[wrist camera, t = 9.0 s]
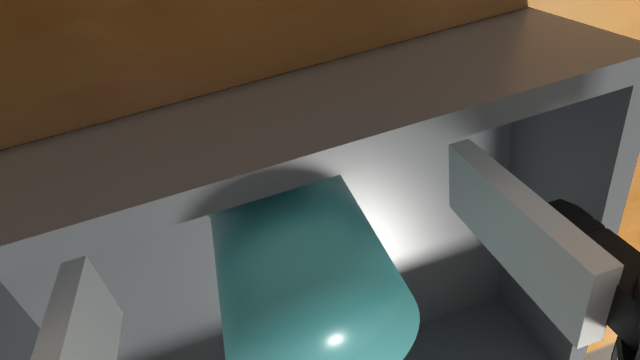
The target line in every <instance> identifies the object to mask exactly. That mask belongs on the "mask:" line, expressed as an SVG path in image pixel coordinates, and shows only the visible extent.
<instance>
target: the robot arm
mask: <svg viewBox="0 0 640 360" xmlns="http://www.w3.org/2000/svg"><path fill="white" fill-rule="evenodd" d="M448 146H449V206H450V208H451V209H452V210H453V211H454V212H455V213H456V214H457V215H458V217H459V218H460V219H461V220H462V221H463V222H464V223H465V224H466V226H467V227H468V228H469V229H470V230H471V231H472V232H473V233H474V235H475V236H476V237H477V238H478V239H479V240H480V241H481V242H482V244H483V245H484V246H485V247H486V248H487V249H488V250H489V251H490V252H491V254H492V255H493V256H494V257H495V258H496V259H497V260H498V261H499V263H500V264H501V265H502V266H503V267H504V268H505V269H506V270H507V272H508V273H509V274H510V275H511V276H512V277H513V278H514V279H515V281H516V282H517V283H518V284H519V285H520V286H521V287H522V288H523V290H524V291H525V292H526V293H527V294H528V295H529V296H530V297H531V298H532V300H533V301H534V302H535V303H536V304H537V305H538V306H539V307H540V309H541V310H542V311H543V312H544V313H545V314H546V315H547V316H548V318H549V319H550V320H551V321H552V322H553V323H554V324H555V325H556V327H557V328H558V329H559V330H560V331H561V332H562V333H563V334H564V335H565V337H566V338H567V339H568V340H569V341H570V342H571V343H572V344H573V346H574V347H575V348H576V349H579V348H582V347H584V346H587V345H589V344H592V343H595V342H597V341H600V340H602V339H603V336H604V333H605V329H606V326H607V325H608V326H609V327H610V328H611V329H612V330H613V331H614V332H615V333H616V334H617V335H618V337H617V340H616V343H615V346H614V349H613V352H612V356H611V360H617V357H618V360H640V252H639V251H637V250H636V249H635V248H633V247H632V246H631V245H629V244H628V243H627V242H626V241H624V240H623V239H622V238H620V237H619V236H618V235H616V234H615V233H614V232H612V231H611V230H610V229H608V228H607V229H606V228H605V226H604V225H603V224H602V223H601V222H599V221H598V220H597V219H595V220H594V218H593V216H591V215H590V214H589V213H587V212H586V211H585V210H583V209H582V208H581V207H579V206H577V205H575V204H572V203H570V202H568V201H565V200H563V199H557V200H554V201H551V202H548V203H547V202H546V201H545V200H543V199H542V198H541V197H540V196H538V195H537V194H536V193H535V192H534V191H532V190H531V189H530V188H529V187H527V186H526V185H525V184H524V183H523V182H521V181H520V180H519V179H518V178H516V177H515V176H514V175H513V174H512V173H510V172H509V171H508V170H507V169H505V168H504V167H503V166H502V165H500V164H499V163H498V162H497V161H496V160H494V159H493V158H492V157H491V156H489V155H488V154H487V153H486V152H485V151H483V150H482V149H481V148H480V147H478V146H477V145H476V144H475V143H473V142H472V141H471V140H470V139H469V138H468V139H465V140H462V141H459V142H455V143H452V144H449V145H448ZM122 317H123V311H122V310H121V308H120V307H119V305H118V304H117V302H116V301H115V299H114V298H113V296H112V294H111V293H110V291H109V290H108V288H107V287H106V285H105V284H104V282H103V281H102V279H101V278H100V276H99V274H98V273H97V271H96V270H95V268H94V267H93V265H92V264H91V262H90V261H89V259H88V258H87V256H83V257H79V258H76V259H73V260H70V261H66V262H63V263H61V265H60V268H59V271H58V274H57V277H56V281H55V284H54V287H53V290H52V293H51V296H50V299H49V302H48V306H47V309H46V312H45V315H44V318H43V321H42V324H41V328H40V331H39V334H38V337H37V340H36V343H35V346H34V349H33V353H32V356H31V359H30V360H117V356H118V348H119V340H120V333H121V325H122Z"/></svg>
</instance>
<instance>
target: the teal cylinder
mask: <svg viewBox="0 0 640 360" xmlns="http://www.w3.org/2000/svg"><path fill="white" fill-rule="evenodd" d="M210 218H211V228H212V237H213V246H214V256H215V265H216V275H217V284H218V294H219V303H220V312H221V322H222V331H223V341H224V350H225V359H226V360H403V359H404V358H405V356H406V355H407V354H408V352H409V350H410V349H411V347H412V345H413V343H414V341H415V339H416V336H417V333H418V330H419V323H420V313H419V309H418V305H417V303H416V301H415V298H414V297H413V295H412V293H411V292H410V290H409V288H408V287H407V285H406V283H405V282H404V280H403V278H402V277H401V275H400V273H399V272H398V270H397V268H396V267H395V265H394V263H393V262H392V260H391V258H390V256H389V255H388V253H387V251H386V250H385V248H384V246H383V245H382V243H381V241H380V240H379V238H378V236H377V235H376V233H375V231H374V230H373V228H372V226H371V225H370V223H369V221H368V220H367V218H366V216H365V215H364V213H363V211H362V210H361V208H360V206H359V205H358V203H357V201H356V200H355V198H354V196H353V195H352V193H351V191H350V190H349V188H348V186H347V185H346V183H345V181H344V179H343V178H342V176H341V175H337V176H334V177H331V178H328V179H324V180H321V181H318V182H315V183H311V184H308V185H305V186H301V187H298V188H295V189H292V190H288V191H285V192H282V193H278V194H275V195H272V196H269V197H265V198H262V199H259V200H255V201H252V202H249V203H246V204H242V205H239V206H236V207H233V208H229V209H226V210H223V211H219V212H216V213H213V214H210Z"/></svg>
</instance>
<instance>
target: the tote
mask: <svg viewBox="0 0 640 360" xmlns="http://www.w3.org/2000/svg"><path fill="white" fill-rule="evenodd" d="M468 138H469V139H470V140H471V141H472V142H473V143H475V144H476V145H477V146H478V147H480V148H481V149H482V150H483V151H485V152H486V153H487V154H488V155H489V156H491V157H492V158H493V159H494V160H496V161H497V162H498V163H499V164H500V165H502V166H503V167H504V168H505V169H507V170H508V171H509V172H510V173H512V174H513V175H514V176H515V177H516V178H518V179H519V180H520V181H521V182H523V183H524V184H525V185H526V186H527V187H529V188H530V189H531V190H532V191H534V192H535V193H536V194H537V195H538V196H540V197H541V198H542V199H543V200H545V201H546V202H547V203H548V202H551V201H554V200H557V199H563V200H565V201H568V202H570V203H572V204H575V205H577V206H579V207H581V208H582V209H583V210H585V211H586V212H587V213H589V214H590V215H591V216H593V218H594V220H595V219H597V220H598V221H599V222H601V223H602V224H603V225H604V226H605V228H606V229H607V228H608V229H610V230H611V231H612V232H614V233H615V234H616V235H617V234H618V230H619V227H620V223H621V219H622V215H623V212H624V208H625V204H626V200H627V197H628V193H629V189H630V185H631V181H632V178H633V174H634V170H635V166H636V163H637V159H638V155H639V151H640V41H639V40H636V39H633V38H629V37H626V36H623V35H619V34H616V33H613V32H610V31H606V30H603V29H600V28H596V27H593V26H590V25H586V24H583V23H580V22H577V21H573V20H570V19H567V18H563V17H560V16H557V15H553V14H550V13H547V12H543V11H540V10H537V9H534V8H530V7H528V8H524V9H521V10H517V11H513V12H510V13H506V14H502V15H499V16H495V17H491V18H487V19H484V20H480V21H476V22H473V23H469V24H465V25H462V26H458V27H454V28H451V29H447V30H443V31H440V32H436V33H432V34H428V35H425V36H421V37H417V38H414V39H410V40H406V41H403V42H399V43H395V44H392V45H388V46H384V47H381V48H377V49H373V50H369V51H366V52H362V53H358V54H355V55H351V56H347V57H344V58H340V59H336V60H333V61H329V62H325V63H322V64H318V65H314V66H310V67H307V68H303V69H299V70H296V71H292V72H288V73H285V74H281V75H277V76H274V77H270V78H266V79H263V80H259V81H255V82H251V83H248V84H244V85H240V86H237V87H233V88H229V89H226V90H222V91H218V92H215V93H211V94H207V95H203V96H200V97H196V98H192V99H189V100H185V101H181V102H178V103H174V104H170V105H167V106H163V107H159V108H156V109H152V110H148V111H144V112H141V113H137V114H133V115H130V116H126V117H122V118H119V119H115V120H111V121H108V122H104V123H100V124H97V125H93V126H89V127H85V128H82V129H78V130H74V131H71V132H67V133H63V134H60V135H56V136H52V137H49V138H45V139H41V140H38V141H34V142H30V143H26V144H23V145H19V146H15V147H12V148H8V149H4V150H1V151H0V360H30V359H31V356H32V353H33V349H34V346H35V343H36V340H37V337H38V334H39V331H40V328H41V324H42V321H43V318H44V315H45V312H46V309H47V306H48V302H49V299H50V296H51V293H52V290H53V287H54V284H55V281H56V277H57V274H58V271H59V268H60V265H61V263H63V262H66V261H70V260H73V259H76V258H79V257H83V256H87V258H88V259H89V261H90V262H91V264H92V265H93V267H94V268H95V270H96V271H97V273H98V274H99V276H100V278H101V279H102V281H103V282H104V284H105V285H106V287H107V288H108V290H109V291H110V293H111V294H112V296H113V298H114V299H115V301H116V302H117V304H118V305H119V307H120V308H121V310H122V311H123V317H122V325H121V333H120V340H119V348H118V356H117V360H226V359H225V350H224V341H223V331H222V322H221V312H220V303H219V294H218V284H217V275H216V265H215V256H214V246H213V237H212V228H211V218H210V214H213V213H216V212H219V211H223V210H226V209H229V208H233V207H236V206H239V205H242V204H246V203H249V202H252V201H255V200H259V199H262V198H265V197H269V196H272V195H275V194H278V193H282V192H285V191H288V190H292V189H295V188H298V187H301V186H305V185H308V184H311V183H315V182H318V181H321V180H324V179H328V178H331V177H334V176H337V175H341V176H342V178H343V179H344V181H345V183H346V185H347V186H348V188H349V190H350V191H351V193H352V195H353V196H354V198H355V200H356V201H357V203H358V205H359V206H360V208H361V210H362V211H363V213H364V215H365V216H366V218H367V220H368V221H369V223H370V225H371V226H372V228H373V230H374V231H375V233H376V235H377V236H378V238H379V240H380V241H381V243H382V245H383V246H384V248H385V250H386V251H387V253H388V255H389V256H390V258H391V260H392V262H393V263H394V265H395V267H396V268H397V270H398V272H399V273H400V275H401V277H402V278H403V280H404V282H405V283H406V285H407V287H408V288H409V290H410V292H411V293H412V295H413V297H414V298H415V301H416V303H417V305H418V309H419V313H420V323H419V330H418V333H417V336H416V339H415V341H414V343H413V345H412V347H411V349H410V350H409V352H408V354H407V355H406V356H405V358H404V359H403V360H584V358H585V355H586V351H587V347H588V345H587V346H584V347H582V348H579V349H576V348H575V347H574V346H573V344H572V343H571V342H570V341H569V340H568V339H567V338H566V337H565V335H564V334H563V333H562V332H561V331H560V330H559V329H558V328H557V327H556V325H555V324H554V323H553V322H552V321H551V320H550V319H549V318H548V316H547V315H546V314H545V313H544V312H543V311H542V310H541V309H540V307H539V306H538V305H537V304H536V303H535V302H534V301H533V300H532V298H531V297H530V296H529V295H528V294H527V293H526V292H525V291H524V290H523V288H522V287H521V286H520V285H519V284H518V283H517V282H516V281H515V279H514V278H513V277H512V276H511V275H510V274H509V273H508V272H507V270H506V269H505V268H504V267H503V266H502V265H501V264H500V263H499V261H498V260H497V259H496V258H495V257H494V256H493V255H492V254H491V252H490V251H489V250H488V249H487V248H486V247H485V246H484V245H483V244H482V242H481V241H480V240H479V239H478V238H477V237H476V236H475V235H474V233H473V232H472V231H471V230H470V229H469V228H468V227H467V226H466V224H465V223H464V222H463V221H462V220H461V219H460V218H459V217H458V215H457V214H456V213H455V212H454V211H453V210H452V209H451V208H450V206H449V146H448V145H449V144H452V143H455V142H459V141H462V140H465V139H468Z"/></svg>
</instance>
